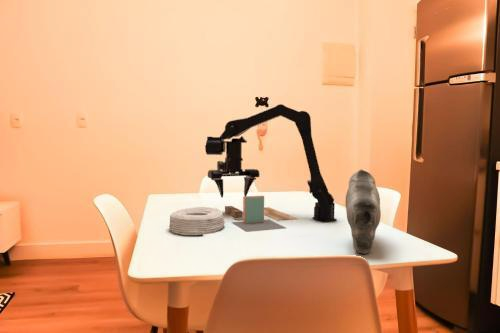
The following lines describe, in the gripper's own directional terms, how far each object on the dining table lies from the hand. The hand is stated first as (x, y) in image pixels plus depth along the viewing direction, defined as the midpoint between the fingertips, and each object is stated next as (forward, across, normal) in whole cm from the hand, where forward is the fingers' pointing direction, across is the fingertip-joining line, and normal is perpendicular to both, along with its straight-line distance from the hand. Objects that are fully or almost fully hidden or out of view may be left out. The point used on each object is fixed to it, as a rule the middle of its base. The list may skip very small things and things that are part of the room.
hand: (233, 196), depth 135 cm
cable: (+8, +18, +15) cm, 25 cm away
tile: (+7, -2, +15) cm, 17 cm away
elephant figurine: (+8, -21, +47) cm, 52 cm away
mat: (+8, -2, +19) cm, 20 cm away
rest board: (+8, -15, +3) cm, 17 cm away
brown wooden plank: (+8, 0, +2) cm, 8 cm away
